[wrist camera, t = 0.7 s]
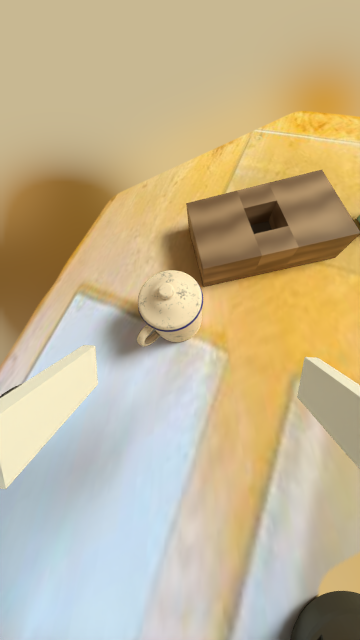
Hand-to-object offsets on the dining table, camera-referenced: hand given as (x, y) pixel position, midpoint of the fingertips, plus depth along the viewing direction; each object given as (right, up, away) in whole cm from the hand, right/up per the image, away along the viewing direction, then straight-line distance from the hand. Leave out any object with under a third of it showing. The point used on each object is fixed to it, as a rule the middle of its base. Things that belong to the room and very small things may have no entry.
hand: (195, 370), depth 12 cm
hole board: (+14, +18, +25) cm, 34 cm away
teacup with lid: (-2, +2, +22) cm, 23 cm away
